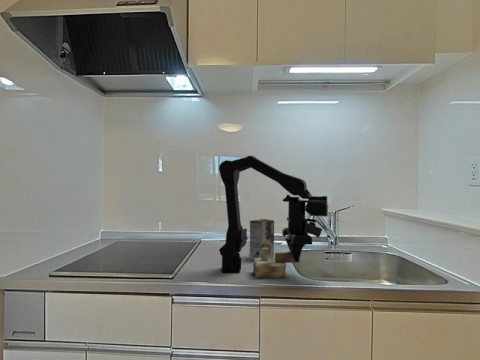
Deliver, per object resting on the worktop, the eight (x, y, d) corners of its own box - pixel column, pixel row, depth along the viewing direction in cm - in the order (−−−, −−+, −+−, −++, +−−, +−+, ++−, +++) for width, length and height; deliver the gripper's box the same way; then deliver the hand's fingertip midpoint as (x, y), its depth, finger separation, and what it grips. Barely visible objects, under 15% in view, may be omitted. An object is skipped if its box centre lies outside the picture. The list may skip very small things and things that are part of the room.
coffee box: (261, 256, 158) (262, 218, 158) (274, 258, 154) (274, 220, 154) (248, 259, 151) (249, 220, 151) (261, 262, 147) (262, 221, 147)
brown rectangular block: (276, 262, 124) (276, 253, 124) (275, 261, 126) (275, 252, 126) (299, 262, 125) (299, 253, 125) (298, 261, 127) (298, 252, 127)
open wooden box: (256, 278, 124) (256, 266, 123) (253, 272, 131) (253, 260, 131) (285, 278, 124) (285, 266, 124) (280, 271, 132) (281, 260, 132)
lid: (256, 266, 124) (256, 251, 124) (253, 260, 132) (253, 246, 131) (285, 266, 124) (286, 251, 124) (281, 260, 132) (281, 246, 132)
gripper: (328, 218, 117) (327, 267, 117) (312, 212, 135) (311, 255, 136) (294, 218, 116) (293, 267, 116) (282, 212, 135) (281, 255, 135)
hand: (295, 260), depth 126 cm, fingers closed on brown rectangular block, 2 cm apart
